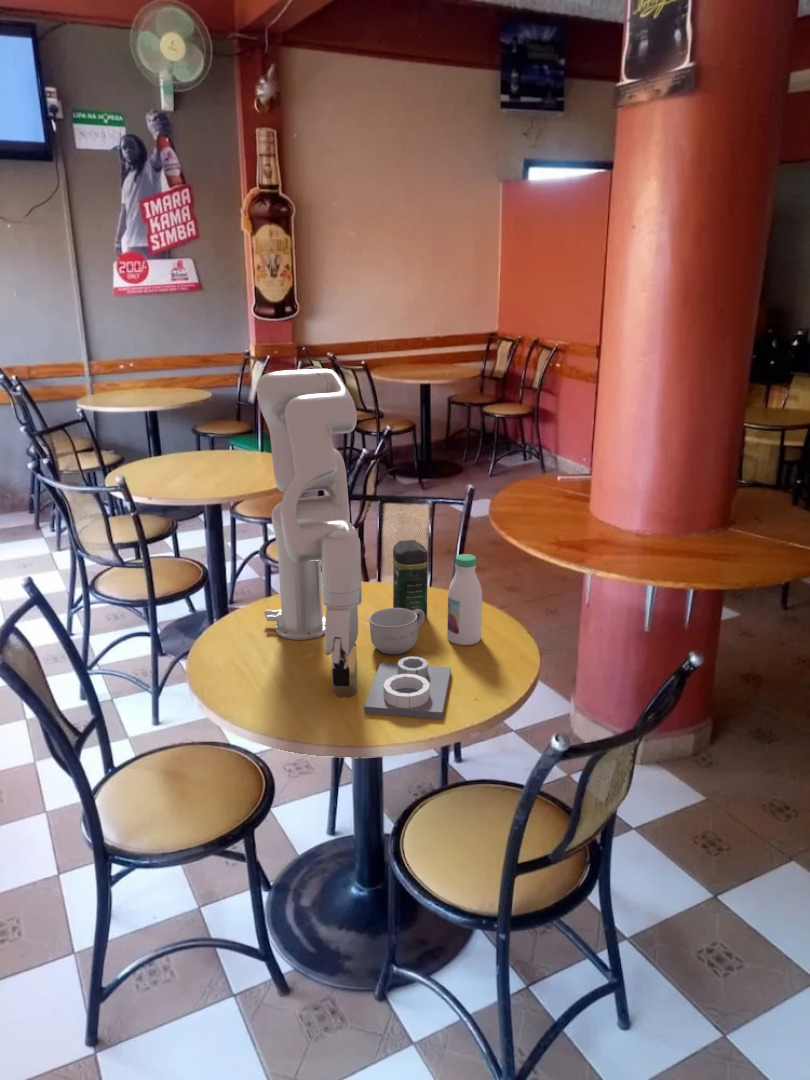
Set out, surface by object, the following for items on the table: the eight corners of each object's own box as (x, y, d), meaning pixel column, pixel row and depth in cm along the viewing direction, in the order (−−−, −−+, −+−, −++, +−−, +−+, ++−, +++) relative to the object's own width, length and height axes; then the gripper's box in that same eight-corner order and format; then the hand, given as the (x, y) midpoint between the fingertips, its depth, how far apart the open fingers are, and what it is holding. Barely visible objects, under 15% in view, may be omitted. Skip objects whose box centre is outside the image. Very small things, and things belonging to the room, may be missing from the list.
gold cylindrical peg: (330, 695, 163) (328, 650, 160) (335, 683, 168) (334, 639, 165) (354, 697, 163) (353, 652, 159) (359, 685, 167) (358, 641, 164)
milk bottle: (481, 632, 191) (483, 551, 184) (480, 647, 184) (483, 563, 177) (448, 630, 192) (449, 550, 185) (446, 645, 184) (447, 562, 178)
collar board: (364, 713, 157) (363, 695, 156) (380, 669, 174) (380, 652, 173) (442, 719, 155) (442, 700, 154) (450, 673, 172) (451, 656, 171)
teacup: (382, 663, 176) (382, 630, 174) (361, 643, 185) (360, 611, 183) (438, 650, 182) (439, 617, 180) (415, 631, 191) (415, 599, 189)
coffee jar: (430, 622, 196) (431, 549, 190) (398, 625, 194) (397, 551, 188) (421, 606, 205) (421, 536, 199) (390, 609, 203) (389, 538, 197)
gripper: (333, 577, 167) (335, 657, 173) (312, 611, 151) (316, 698, 157) (369, 579, 166) (370, 660, 172) (352, 614, 150) (354, 701, 156)
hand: (344, 677), depth 164 cm, fingers closed on gold cylindrical peg, 5 cm apart
